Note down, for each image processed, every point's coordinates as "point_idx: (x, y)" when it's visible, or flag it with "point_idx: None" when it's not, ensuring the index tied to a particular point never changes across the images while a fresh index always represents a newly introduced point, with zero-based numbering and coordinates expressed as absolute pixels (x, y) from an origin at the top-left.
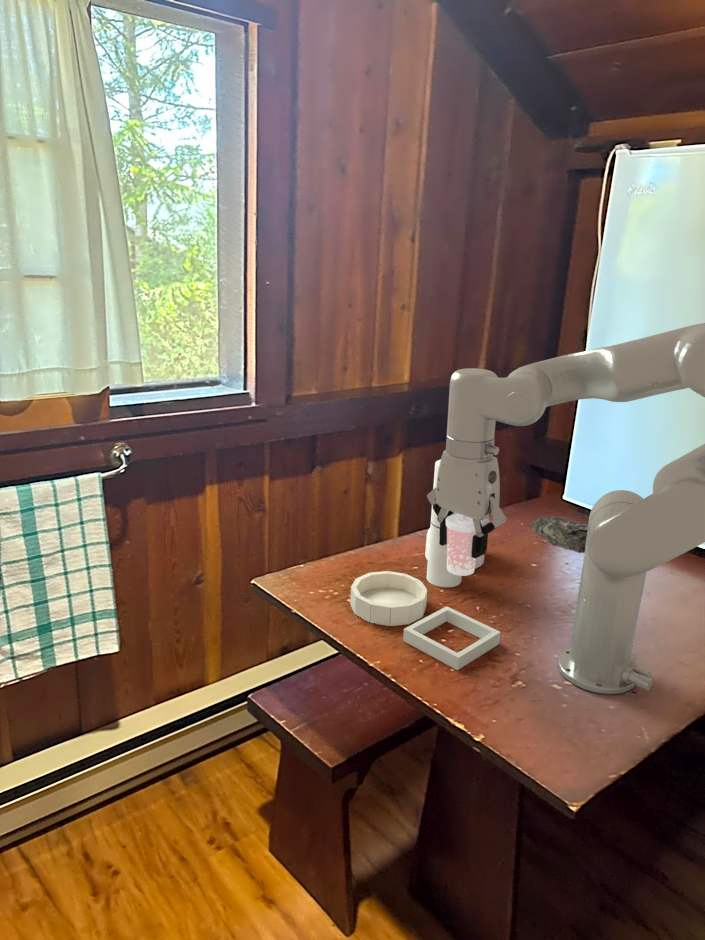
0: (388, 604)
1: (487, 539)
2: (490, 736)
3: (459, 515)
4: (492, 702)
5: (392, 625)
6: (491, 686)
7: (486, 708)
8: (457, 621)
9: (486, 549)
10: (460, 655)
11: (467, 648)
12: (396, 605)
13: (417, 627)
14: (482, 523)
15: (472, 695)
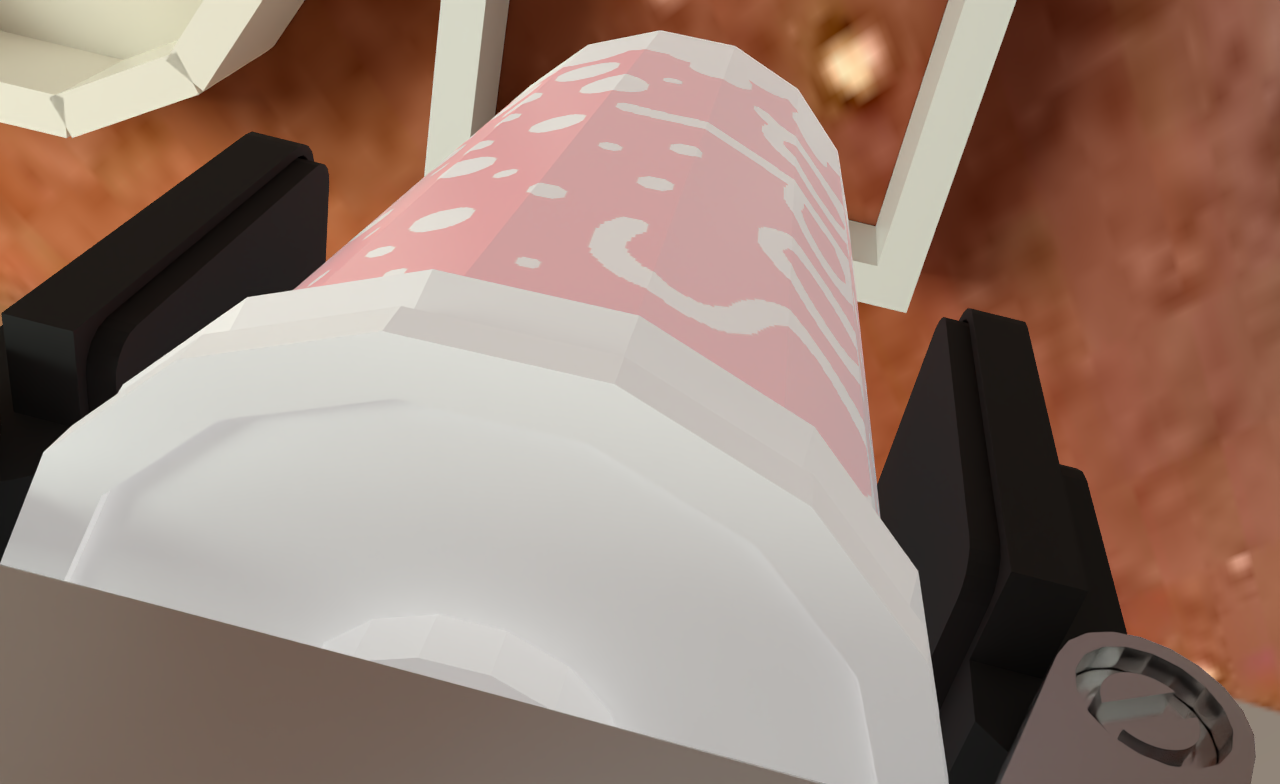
0: (155, 59)
1: (1119, 618)
2: (1246, 661)
3: (132, 474)
4: (1198, 439)
5: (280, 33)
6: (1157, 308)
7: (1177, 497)
8: None
9: (1079, 478)
10: (907, 283)
11: (920, 176)
12: (207, 37)
13: (477, 104)
14: (933, 691)
15: (1069, 437)
